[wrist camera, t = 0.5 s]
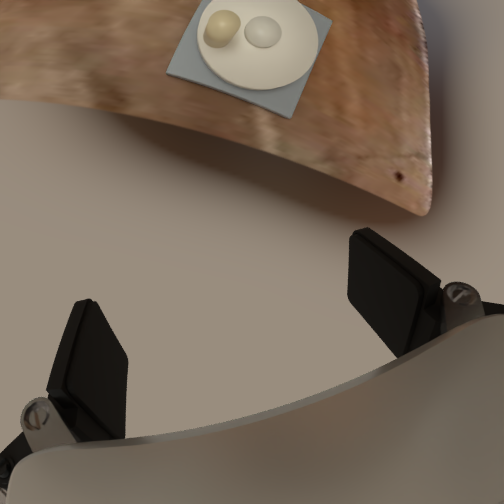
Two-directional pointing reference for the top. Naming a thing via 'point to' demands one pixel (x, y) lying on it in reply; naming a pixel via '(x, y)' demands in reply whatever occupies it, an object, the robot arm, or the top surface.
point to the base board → (195, 70)
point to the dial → (257, 42)
